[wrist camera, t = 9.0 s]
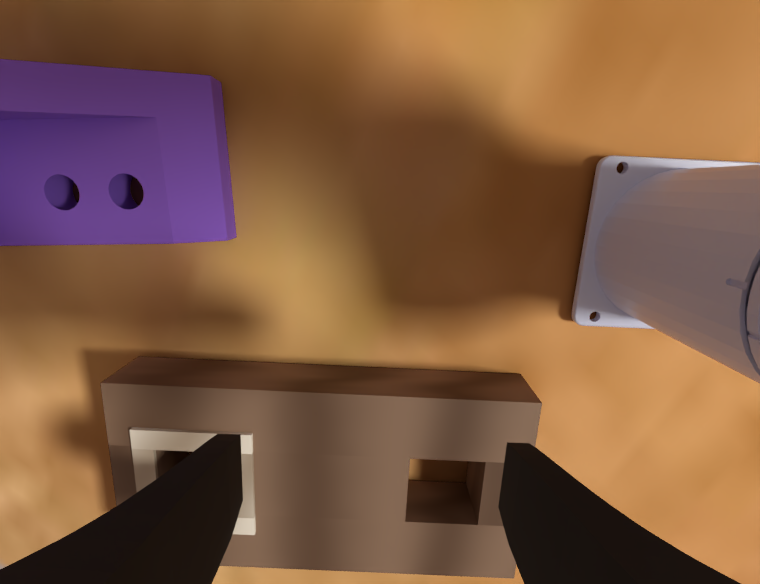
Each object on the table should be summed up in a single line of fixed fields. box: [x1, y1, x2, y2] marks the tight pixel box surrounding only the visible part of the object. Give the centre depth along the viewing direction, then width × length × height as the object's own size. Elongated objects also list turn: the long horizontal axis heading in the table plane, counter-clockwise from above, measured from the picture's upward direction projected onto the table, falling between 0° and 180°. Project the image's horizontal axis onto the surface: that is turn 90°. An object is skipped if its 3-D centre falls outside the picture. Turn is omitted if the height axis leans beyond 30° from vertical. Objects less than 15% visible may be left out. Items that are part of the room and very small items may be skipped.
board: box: [100, 356, 542, 578], centre depth 21 cm, size 20×10×3 cm, turn 87°
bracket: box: [0, 59, 236, 246], centre depth 16 cm, size 12×7×7 cm, turn 91°
